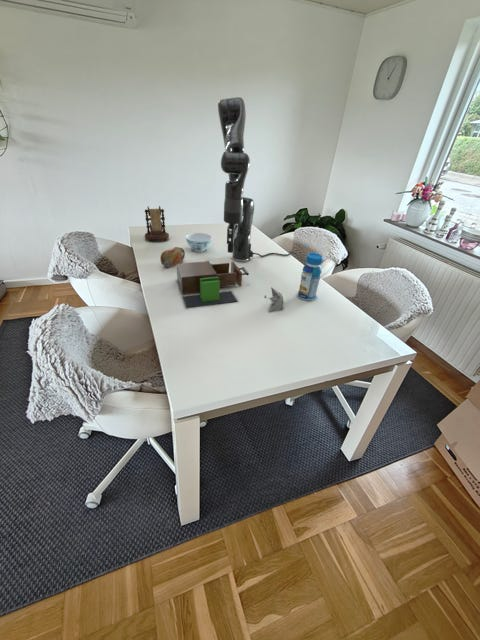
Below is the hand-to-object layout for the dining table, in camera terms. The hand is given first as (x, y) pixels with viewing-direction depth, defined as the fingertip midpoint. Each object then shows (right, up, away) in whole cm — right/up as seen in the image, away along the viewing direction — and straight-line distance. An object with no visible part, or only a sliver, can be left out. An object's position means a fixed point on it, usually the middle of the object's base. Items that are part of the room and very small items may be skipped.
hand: (231, 248), depth 128 cm
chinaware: (-21, +11, +51) cm, 56 cm away
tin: (-32, -1, +32) cm, 45 cm away
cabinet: (-17, -14, +13) cm, 26 cm away
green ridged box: (-10, -21, +3) cm, 24 cm away
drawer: (-3, -11, +17) cm, 21 cm away
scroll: (-49, +21, +62) cm, 82 cm away
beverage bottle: (+34, -20, +11) cm, 41 cm away
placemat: (-10, -21, +3) cm, 24 cm away
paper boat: (+18, -24, +3) cm, 30 cm away
